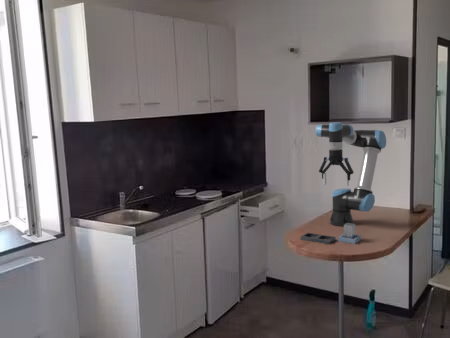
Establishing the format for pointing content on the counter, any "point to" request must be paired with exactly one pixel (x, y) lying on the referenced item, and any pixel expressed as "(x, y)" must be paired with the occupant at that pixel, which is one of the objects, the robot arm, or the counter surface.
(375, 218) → the counter surface
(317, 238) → the rack frame
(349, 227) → the grey rectangular block
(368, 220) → the counter surface
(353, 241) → the parts tray
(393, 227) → the counter surface
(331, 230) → the counter surface
